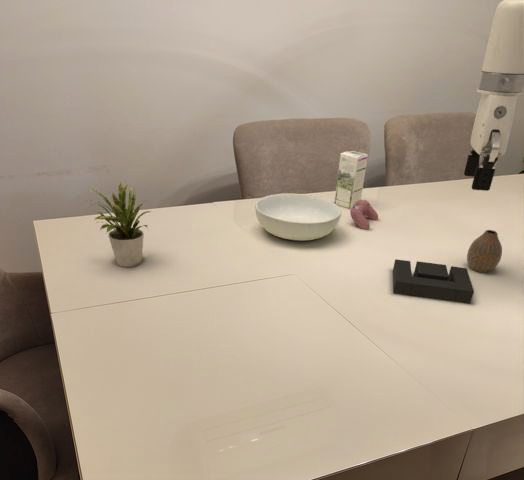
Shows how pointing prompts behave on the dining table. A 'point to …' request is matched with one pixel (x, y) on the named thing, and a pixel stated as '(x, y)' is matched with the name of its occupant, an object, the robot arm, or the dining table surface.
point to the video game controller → (363, 213)
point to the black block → (431, 271)
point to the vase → (485, 252)
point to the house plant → (124, 228)
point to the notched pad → (432, 284)
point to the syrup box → (350, 178)
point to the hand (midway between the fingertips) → (475, 182)
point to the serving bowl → (297, 216)
